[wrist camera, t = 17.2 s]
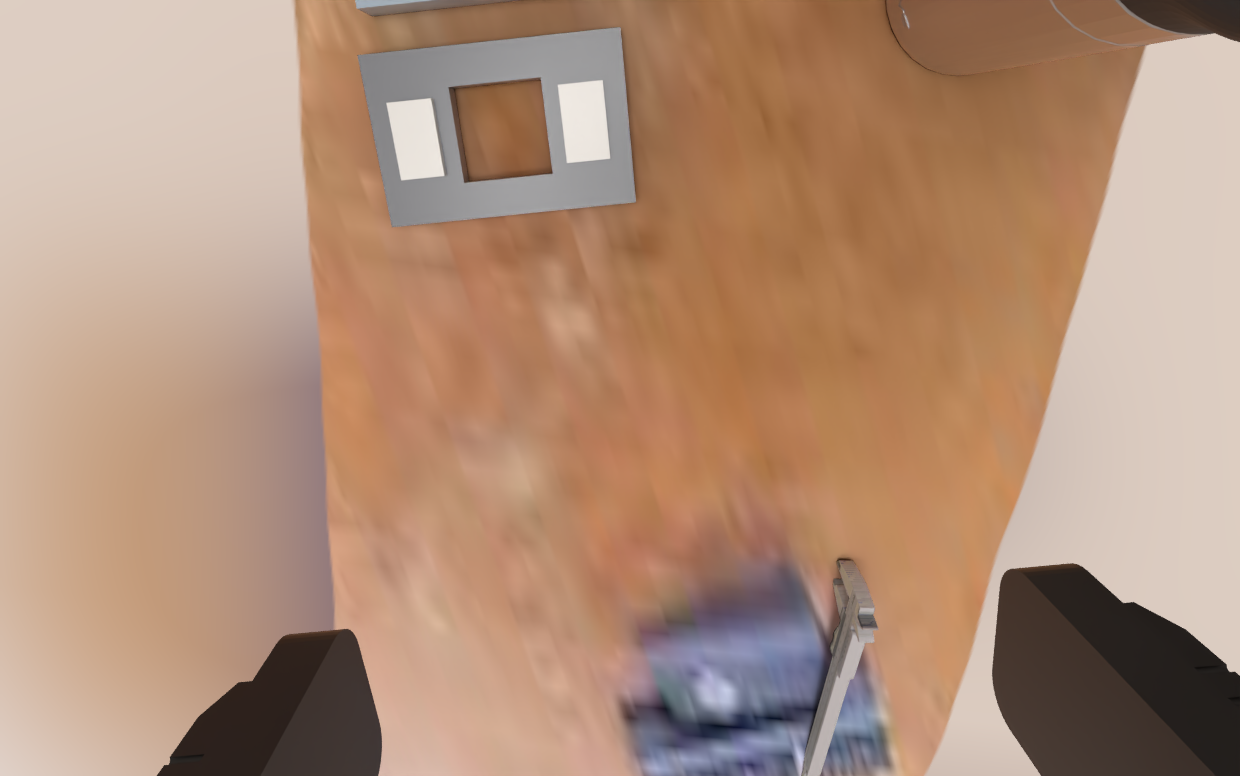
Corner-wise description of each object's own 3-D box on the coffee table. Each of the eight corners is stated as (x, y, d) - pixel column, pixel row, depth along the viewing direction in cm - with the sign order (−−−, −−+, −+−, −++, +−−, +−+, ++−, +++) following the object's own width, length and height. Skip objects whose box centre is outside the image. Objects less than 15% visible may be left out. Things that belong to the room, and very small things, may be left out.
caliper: (835, 554, 51) (865, 610, 45) (850, 555, 51) (882, 610, 45) (799, 774, 58) (821, 848, 52) (813, 775, 58) (836, 848, 52)
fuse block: (620, 31, 39) (620, 25, 37) (634, 200, 42) (636, 203, 40) (366, 58, 39) (353, 54, 37) (399, 224, 42) (388, 228, 40)
